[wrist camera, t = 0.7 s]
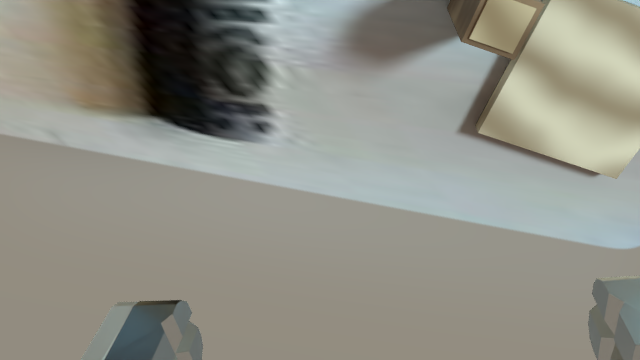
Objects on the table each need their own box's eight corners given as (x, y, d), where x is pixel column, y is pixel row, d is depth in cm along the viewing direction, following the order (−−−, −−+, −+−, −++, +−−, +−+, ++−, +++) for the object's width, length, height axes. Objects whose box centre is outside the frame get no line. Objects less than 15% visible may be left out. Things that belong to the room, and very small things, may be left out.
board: (556, -24, 41) (561, -20, 40) (712, 33, 42) (723, 39, 41) (475, 125, 49) (477, 132, 48) (610, 170, 50) (616, 178, 49)
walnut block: (468, -41, 41) (488, -16, 34) (515, -24, 42) (545, 4, 34) (447, 7, 43) (461, 42, 36) (491, 23, 44) (514, 60, 36)
